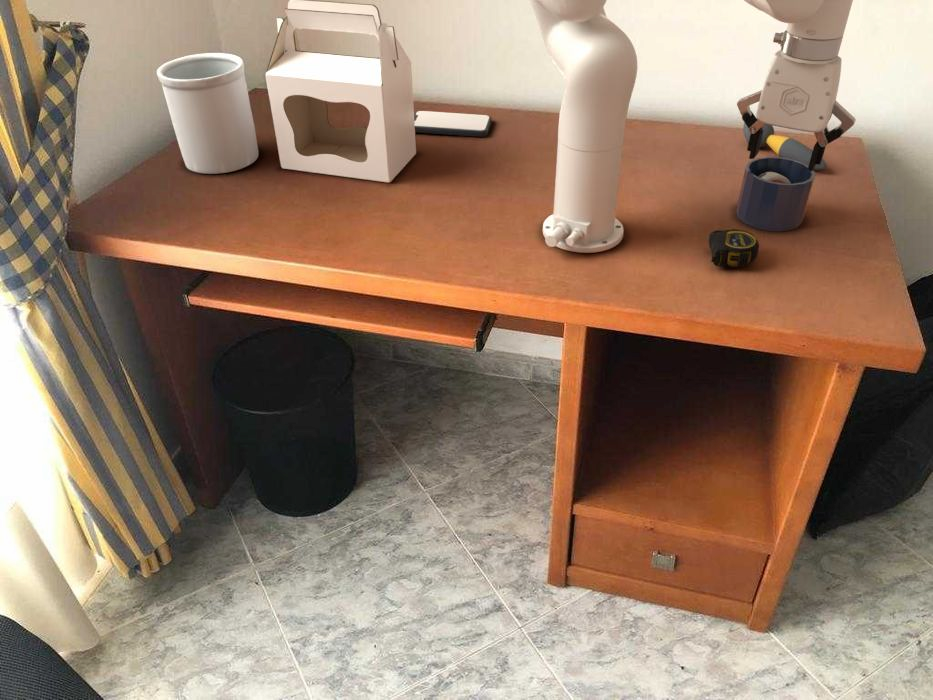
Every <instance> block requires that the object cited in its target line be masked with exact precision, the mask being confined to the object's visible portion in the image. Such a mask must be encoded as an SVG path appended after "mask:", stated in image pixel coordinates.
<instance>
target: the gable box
mask: <svg viewBox="0 0 933 700" xmlns="http://www.w3.org/2000/svg"><path fill="white" fill-rule="evenodd" d="M284 12H285V14H286V16H285V17H276V24H277V36H276V39H275V42H274V45H273V48H272V51H271V55H270V58H269V61H268V64H267V67H266V70H265V73H264V75H265V80H266V87H267V92H268V99H269V105H270V110H271V117H272V122H273V127H274V128H273V129H274V134H275V138H276V145H277V151H278V157H279V158H278V159H279V163H280V167H281V169H283V170H290V171H297V172H305V173H313V174H320V175H327V176H335V177H342V178H350V179H357V180H364V181H371V182H378V183H379V182H380V183H386V184H390V183H391V182H392V181H393V180H394V179H395V177H396V176H398V174H400V172H401V171H402V170H404V167H406V165H407V164H408V163H409V162H410V161H411V160H412V159H413V158H414V156H415V155H417V145H416V143H417V141H416V132H415V123H414V113H415V107H414V91H413V89H414V88H413V73H412V72H413V71H412V60H411V59H410V58H409V56H408V54H407V53H406V51H405V49H404V48H403V46H402V45H401V43H400V41H399V40H398V38H397V37H396V33H395V32H396V31H395V27H394V26H391V25H388V23H385V22H384V23H383V22H382V19H381V14H380V11H379V8H378V7H377V5H375V4H369V3H358V2H357V3H356V2H342V1H328V0H289V1H288V2H287V8H284ZM303 29H304V30H316V31H327V32H337V33H339V32H340V33H351V34H352V33H353V34H361V35H362V34H364V35H368V36H374V37H376V39H377V41H378V51H379V52H378V54H379V56H367V55H357V54H356V55H355V54H345V53H334V52H324V51H323V52H322V51H313V50H312V51H311V50H302V49H301V44H300V41H299V36H298V32H297V30H303ZM327 102H329V103H355V104H359V105H362V106H364V107H365V109H367V110H368V112H369V122H368V125H367V127H365V126H351V127H343V128H342V127H341V128H339V127H335V126H332V125H331V123H330V122H329V118H328V116H329V115H328V114H329V108H328V104H327Z"/></svg>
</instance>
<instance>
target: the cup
mask: <svg viewBox="0 0 933 700" xmlns="http://www.w3.org/2000/svg"><path fill="white" fill-rule="evenodd" d="M744 167H745V168H744V172H743V176H742V182H741V186H740V190H739V194H738V195H739V196H738V200H737V204H736V211H735V214H736V216H737V218H738V219H739V221H741V222H742V223H744V224H745V225H747V226H749V227H752V228H754V229H758V230H761V231H767V232H789V231H792V230H796V229H797V228H799V227H800V226H801V225H802V224H803V220H804V218H805V215H806V210H807V208H808V204H809V200H810V197H811V193H812V190H813V186H814V182H815V180H816V173H815V170H813V171H809V170H808V166H807V165H806V164H804V163H801V162H799V161H796V160H793V159H788V158H782V157H780V156H763V157H755V158H754V159H751V160H748V162H747V163H746V165H745V166H744ZM766 172H775V173H778V174H780V175H782V176H784V177H786V178H787V179H788V180H789V181H790V182H791V184H785V183H776V182H771V181H767V180H764V179H762V178H759V177H758V176H759V175H761V174H763V173H766Z"/></svg>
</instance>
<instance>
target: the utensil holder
mask: <svg viewBox="0 0 933 700" xmlns="http://www.w3.org/2000/svg"><path fill="white" fill-rule="evenodd" d="M156 76H157V79H158V81H159V83H160V84H161V87H162V92H163V95H164V98H165V101H166V106H167V108H168V112H169V116H170V119H171V123H172V127H173V130H174V134H175V137H176V141H177V144H178V147H179V149H180V154H181V157H182V159H183V162H184V165H185V167H186V169H188V170H189V171H191V172H194V173H197V174H204V175H206V174H207V175H220V174H227V173H231V172H236V171H238V170H242V169H244V168H246V167H248V166H250V165H252V164H253V163H255V162H256V160H257V159H258V158H259V146H258V140H257V134H256V128H255V127H256V126H255V122H254V117H253V113H252V108H251V102H250V96H249V91H248V85H247V81H246V77H245V76H246V75H245V63H244V60H243V59H242V58H241V57H240V56H238V55H235V54H232V53H225V52H206V53H205V52H204V53H196V54H190V55H185V56H182V57H179V58H176V59H172V60H170V61H167V62H165V63H163V64H162V65H160V66H159V67H158V68H157V70H156Z"/></svg>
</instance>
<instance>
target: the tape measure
mask: <svg viewBox="0 0 933 700" xmlns="http://www.w3.org/2000/svg"><path fill="white" fill-rule="evenodd" d="M708 246H709V248H710V251H711V263H713V265H714V266H716V267H724V266H727V267H732V268H743V267H746V266H750V265H751V264H753V263H754V262H755V261H756V259H757V257H758V255H759V250H760V249H759V248H760V244H759V241H758V238H757V237H756V236H755V235H754V234H753V233H751V232H749V231H747V230H743V229H737V228H731V229H722V230H721V229H720V230H714V231H711V232H709V235H708Z"/></svg>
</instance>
